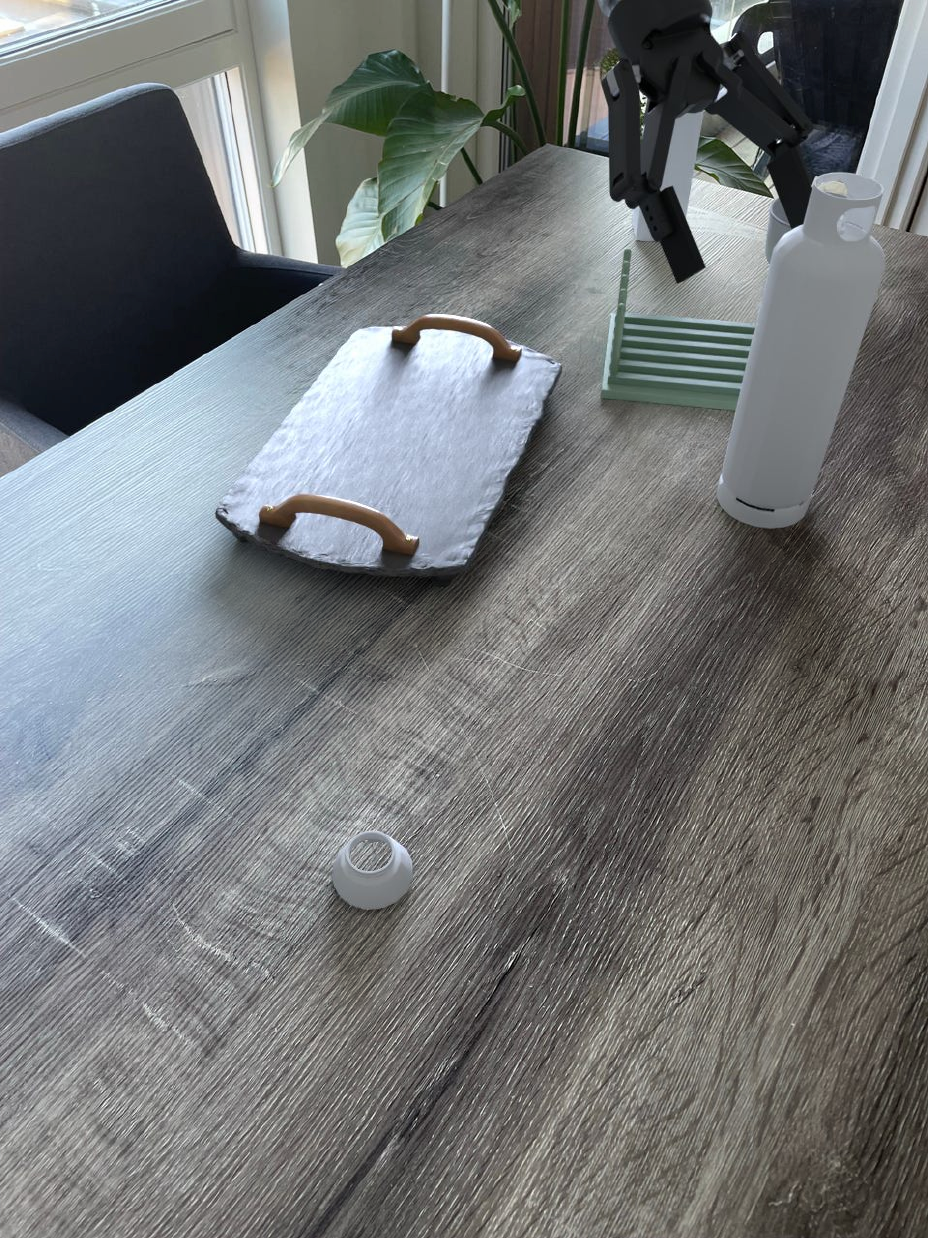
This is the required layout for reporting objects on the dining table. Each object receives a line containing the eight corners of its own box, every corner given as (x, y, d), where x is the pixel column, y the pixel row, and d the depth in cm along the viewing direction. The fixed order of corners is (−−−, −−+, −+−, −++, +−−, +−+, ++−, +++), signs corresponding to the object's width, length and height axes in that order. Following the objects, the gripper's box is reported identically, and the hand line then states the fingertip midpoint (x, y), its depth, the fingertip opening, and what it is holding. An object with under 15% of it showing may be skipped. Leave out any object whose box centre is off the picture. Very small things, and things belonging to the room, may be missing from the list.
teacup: (845, 300, 116) (865, 233, 110) (750, 285, 118) (765, 219, 113) (852, 249, 125) (871, 185, 120) (765, 236, 128) (779, 173, 122)
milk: (676, 222, 131) (708, 33, 115) (682, 242, 127) (715, 49, 111) (630, 220, 131) (655, 32, 115) (634, 241, 127) (660, 48, 111)
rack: (782, 335, 110) (803, 253, 104) (791, 416, 99) (815, 330, 93) (610, 320, 113) (619, 239, 106) (600, 398, 101) (610, 313, 95)
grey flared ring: (411, 840, 65) (334, 844, 65) (409, 814, 63) (330, 819, 63) (414, 910, 62) (332, 915, 61) (412, 886, 59) (328, 891, 59)
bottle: (742, 535, 87) (828, 216, 67) (701, 480, 92) (768, 169, 72) (825, 519, 88) (933, 202, 68) (780, 465, 94) (867, 157, 74)
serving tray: (367, 336, 110) (364, 283, 105) (572, 371, 105) (577, 317, 100) (196, 560, 84) (182, 502, 80) (458, 621, 79) (458, 563, 75)
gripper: (731, -1, 86) (822, 233, 88) (498, 50, 75) (608, 314, 78) (793, -62, 79) (891, 193, 81) (547, -15, 69) (666, 276, 71)
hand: (753, 253), depth 79 cm, fingers open, 13 cm apart
